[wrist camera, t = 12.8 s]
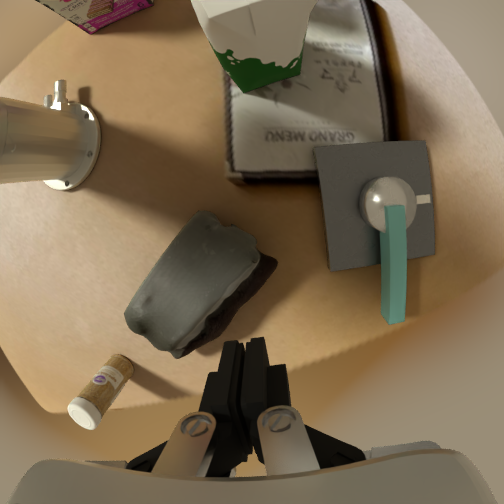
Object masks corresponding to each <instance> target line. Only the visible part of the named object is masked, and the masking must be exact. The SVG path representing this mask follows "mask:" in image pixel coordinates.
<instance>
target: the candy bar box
mask: <svg viewBox="0 0 504 504" xmlns="http://www.w3.org/2000/svg"><path fill="white" fill-rule="evenodd" d="M36 1H37V2H39V3H41V4H43V5H44V6H46V7H48V8H49V9H51V10H53V11H54V12H56V13H58V14H59V15H61V16H62V17H64V18H65V19H67V20H69V21H70V22H72V23H73V24H75V25H76V26H78V27H79V28H81V29H82V30H84V31H85V32H87V33H88V34H92V33H94V32H96V31H98V30H100V29H101V28H103V27H105V26H107V25H109V24H111V23H113V22H115V21H117V20H120V19H122V18H124V17H126V16H128V15H131V14H133V13H135V12H138V11H140V10H142V9H145V8H147V7H150V6H152V5H154V0H36Z"/></svg>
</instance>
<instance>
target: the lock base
mask: <svg viewBox="0 0 504 504" xmlns="http://www.w3.org/2000/svg"><path fill="white" fill-rule="evenodd" d="M313 153H314V159H315V166H316V172H317V178H318V185H319V192H320V199H321V207H322V214H323V223H324V231H325V240H326V249H327V259H328V268H329V270H330V272H331V271H338V270H345V269H351V268H358V267H364V266H370V265H376V264H381V248H380V231H379V230H377V229H375V228H373V227H371V226H370V225H368V224H367V223H366V221H365V220H364V219H363V217H362V215H361V212H360V208H359V198H360V194H361V191H362V189H363V188H364V186H365V185H366V184H367V183H368V182H369V181H371V180H372V179H374V178H378V177H397V178H400V179H402V180H404V181H405V182H406V183H408V184H409V186H410V187H411V188H412V190H413V192H414V194H415V197H416V202H417V209H416V214H415V217H414V219H413V221H412V223H411V224H410V226H409V227H408V228H407V229H406V241H407V259H412V258H418V257H423V256H429V255H435V231H434V210H433V197H432V186H431V177H430V169H429V161H428V154H427V148H426V142H425V141H389V142H370V143H356V144H343V145H332V146H322V147H314V148H313Z"/></svg>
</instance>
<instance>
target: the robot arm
mask: <svg viewBox="0 0 504 504" xmlns="http://www.w3.org/2000/svg"><path fill="white" fill-rule="evenodd" d="M100 143H101V131H100V125H99V122H98V119H97V117H96V115H95V114H94V112H93V111H92V110H91V109H90V108H89V107H87V106H85V105H83V104H79V103H68V99H66V80H58V81H56V82H55V83H54V101H53V102H52V95H46V96H45V97H44V106H42V105H38V104H34V103H29V102H24V101H20V100H15V99H10V98H5V97H0V184H5V183H16V182H28V181H44V183H45V184H46V185H47V186H49V187H50V188H52V189H55V190H69V189H72V188H74V187H76V186H78V185H79V184H80V183H82V182H83V181H84V180H85V179H86V177H87V176H88V175H89V174H90V172H91V170H92V169H93V167H94V165H95V162H96V160H97V157H98V154H99V150H100ZM253 447H254V450H255V453H256V454H257V457H258V460H259V461H260V462H261V463H263V464H264V465H265V468H266V472H267V476H257V477H235V475H236V466H237V465H239V464H240V463H241V462H247V458H248V457H247V456H248V454H252V452H253ZM6 504H497V502H496V500H495V498H494V496H493V494H492V492H491V490H490V488H489V486H488V484H487V482H486V481H485V479H484V478H483V476H482V474H481V473H480V471H479V470H478V469H477V467H476V466H475V465H474V464H473V462H472V461H471V460H470V459H469V458H468V457H467V456H465V455H464V454H462V453H460V452H458V451H455V450H451V449H441V448H440V446H439V445H437V444H436V443H434V442H432V441H420V442H414V443H407V444H400V445H393V446H384V447H374V448H372V449H371V450H369V451H362V450H360V449H358V448H357V447H354V446H352V445H350V444H347V443H345V442H342V441H340V440H338V439H335V438H333V437H331V436H329V435H326V434H324V433H322V432H320V431H318V430H316V429H313V428H311V427H309V426H307V425H305V424H304V423H303V421H302V418H301V415H300V413H299V412H298V411H297V410H296V409H295V408H293V407H291V400H290V391H289V383H288V376H287V370H286V364H280V365H273V366H270V365H269V359H268V354H267V349H266V344H265V339H264V337H258V338H251V342H247V343H246V350H245V348H244V345H243V343H239V342H238V340H235V341H226V342H224V346H223V350H222V354H221V359H220V363H219V367H218V372H210V373H209V374H208V377H207V381H206V385H205V388H204V392H203V396H202V400H201V403H200V407H199V411H198V412H194V413H190V414H188V415H186V416H184V417H183V418H181V419H180V421H179V422H178V424H177V425H176V427H175V429H174V431H173V433H172V434H171V436H170V439H169V440H168V441H166V442H164V443H162V444H160V445H159V446H157V447H155V448H153V449H151V450H149V451H148V452H146V453H144V454H142V455H140V456H138V457H136V458H135V459H133V460H131V461H130V462H129V463H127V462H126V461H80V460H72V459H47V460H43V461H39V462H37V463H36V464H34V465H33V466H32V467H31V468H30V469H29V470H28V471H27V472H26V474H25V475H24V476H23V478H22V479H21V481H20V482H19V483H18V485H17V486H16V488H15V490H14V491H13V493H12V494H11V496H10V498H9V499H8V501H7V503H6Z"/></svg>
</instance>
